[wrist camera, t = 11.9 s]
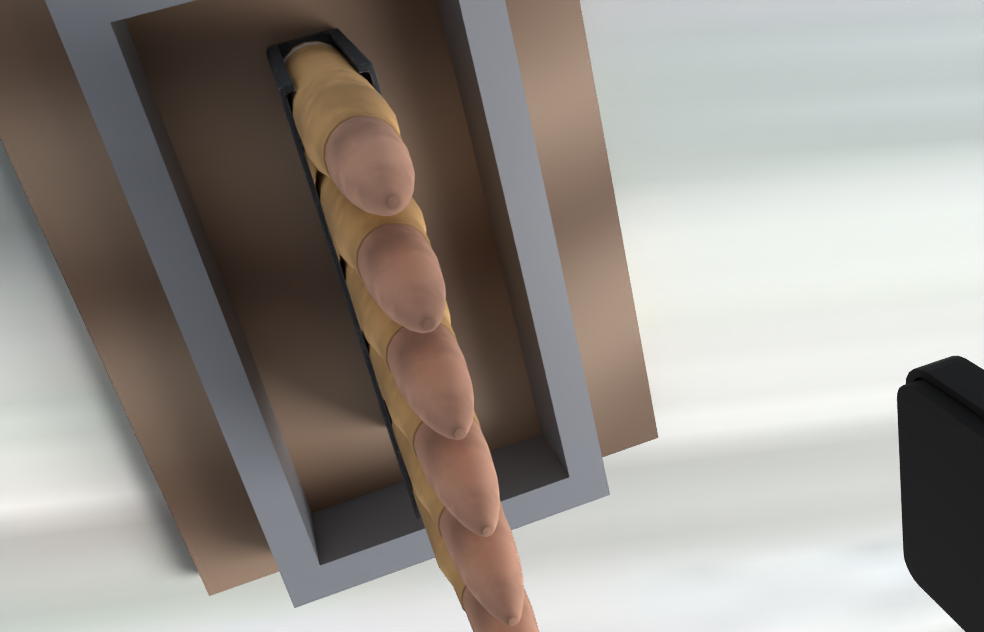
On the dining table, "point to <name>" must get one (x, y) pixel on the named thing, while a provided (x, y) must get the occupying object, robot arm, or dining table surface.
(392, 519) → the pocket board
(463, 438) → the ammunition clip
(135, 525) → the dining table surface
